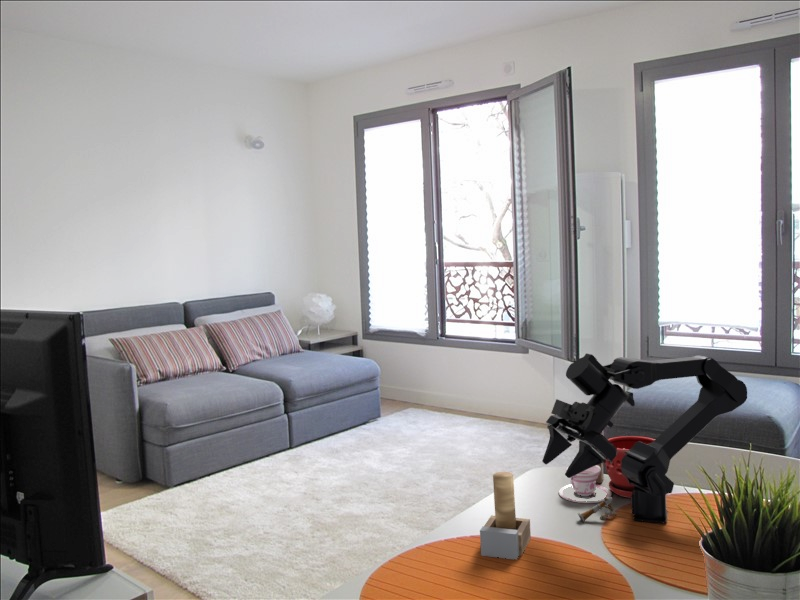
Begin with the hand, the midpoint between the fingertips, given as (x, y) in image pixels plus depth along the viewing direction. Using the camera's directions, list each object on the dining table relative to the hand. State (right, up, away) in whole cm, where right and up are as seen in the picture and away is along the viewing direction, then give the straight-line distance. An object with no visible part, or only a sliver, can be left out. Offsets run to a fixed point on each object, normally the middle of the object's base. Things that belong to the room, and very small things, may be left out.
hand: (555, 469), depth 139 cm
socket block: (-10, -14, -2) cm, 18 cm away
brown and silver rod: (+11, -13, +8) cm, 18 cm away
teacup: (+12, -12, +22) cm, 28 cm away
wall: (-12, -15, -7) cm, 20 cm away
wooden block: (+17, -10, +31) cm, 37 cm away
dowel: (-10, -13, -2) cm, 17 cm away
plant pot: (+23, -11, +22) cm, 34 cm away
